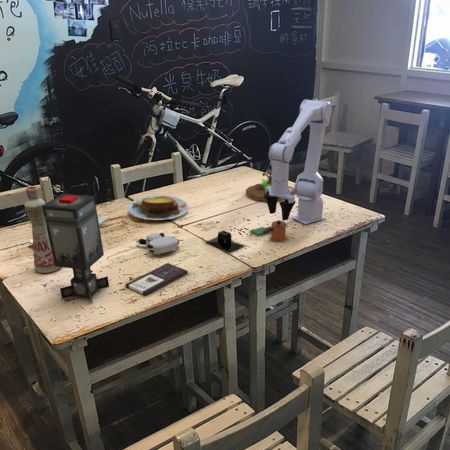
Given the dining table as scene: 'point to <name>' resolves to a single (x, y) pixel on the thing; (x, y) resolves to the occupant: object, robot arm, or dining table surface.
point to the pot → (277, 231)
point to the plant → (263, 189)
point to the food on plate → (157, 207)
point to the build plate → (225, 242)
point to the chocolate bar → (156, 279)
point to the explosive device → (75, 241)
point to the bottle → (39, 232)
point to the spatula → (260, 231)
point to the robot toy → (159, 243)
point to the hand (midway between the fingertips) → (278, 216)
